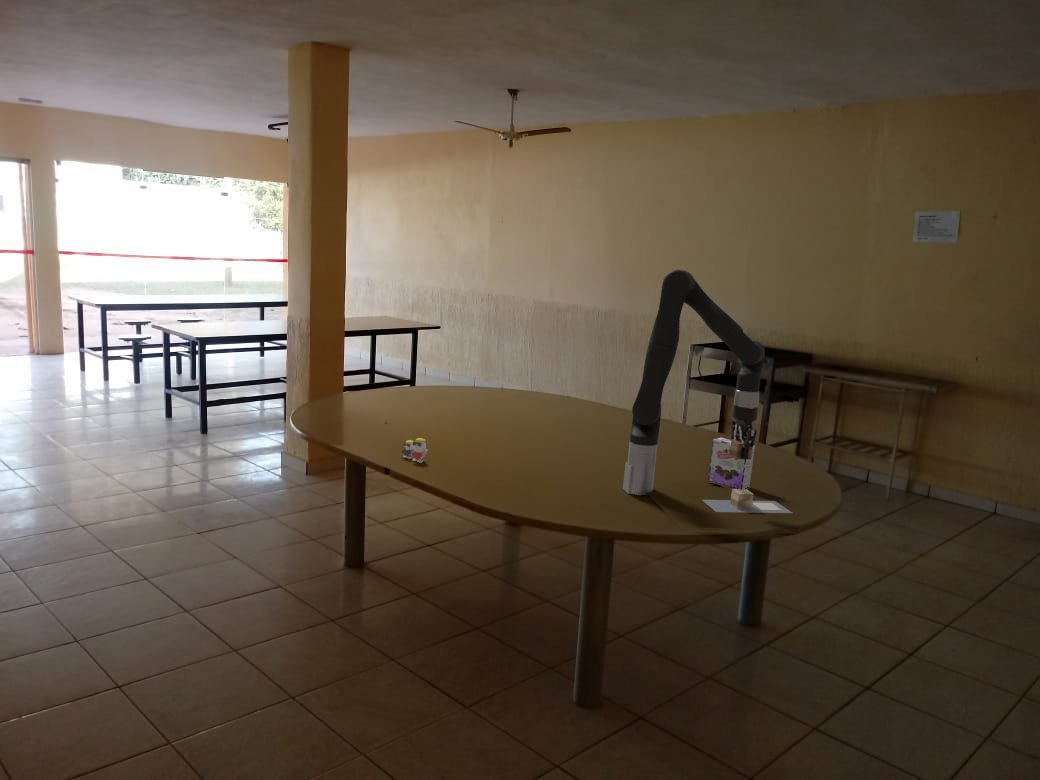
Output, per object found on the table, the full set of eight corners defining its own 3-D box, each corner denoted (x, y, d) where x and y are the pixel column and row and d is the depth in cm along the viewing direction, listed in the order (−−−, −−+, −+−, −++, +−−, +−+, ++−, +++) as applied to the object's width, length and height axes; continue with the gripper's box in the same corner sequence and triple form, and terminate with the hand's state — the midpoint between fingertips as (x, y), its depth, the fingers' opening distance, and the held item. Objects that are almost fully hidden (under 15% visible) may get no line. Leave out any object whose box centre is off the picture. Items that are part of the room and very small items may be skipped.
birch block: (736, 508, 253) (738, 493, 252) (730, 503, 258) (732, 488, 257) (751, 508, 254) (753, 494, 253) (744, 503, 258) (746, 489, 258)
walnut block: (736, 459, 249) (737, 443, 248) (729, 454, 254) (731, 439, 253) (751, 459, 250) (752, 443, 249) (744, 455, 255) (745, 440, 254)
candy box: (706, 483, 284) (712, 438, 281) (715, 480, 288) (721, 436, 285) (741, 493, 274) (747, 447, 271) (749, 490, 278) (755, 445, 276)
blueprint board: (715, 515, 248) (716, 511, 248) (701, 503, 260) (701, 499, 259) (792, 516, 253) (792, 512, 252) (774, 504, 264) (775, 500, 264)
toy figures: (399, 456, 290) (400, 434, 288) (409, 454, 293) (410, 432, 291) (420, 464, 282) (421, 441, 280) (430, 462, 285) (431, 439, 283)
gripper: (725, 399, 255) (720, 450, 258) (744, 408, 241) (738, 462, 244) (747, 400, 256) (741, 451, 259) (767, 409, 243) (761, 462, 245)
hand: (740, 456), depth 252 cm, fingers closed on walnut block, 5 cm apart
